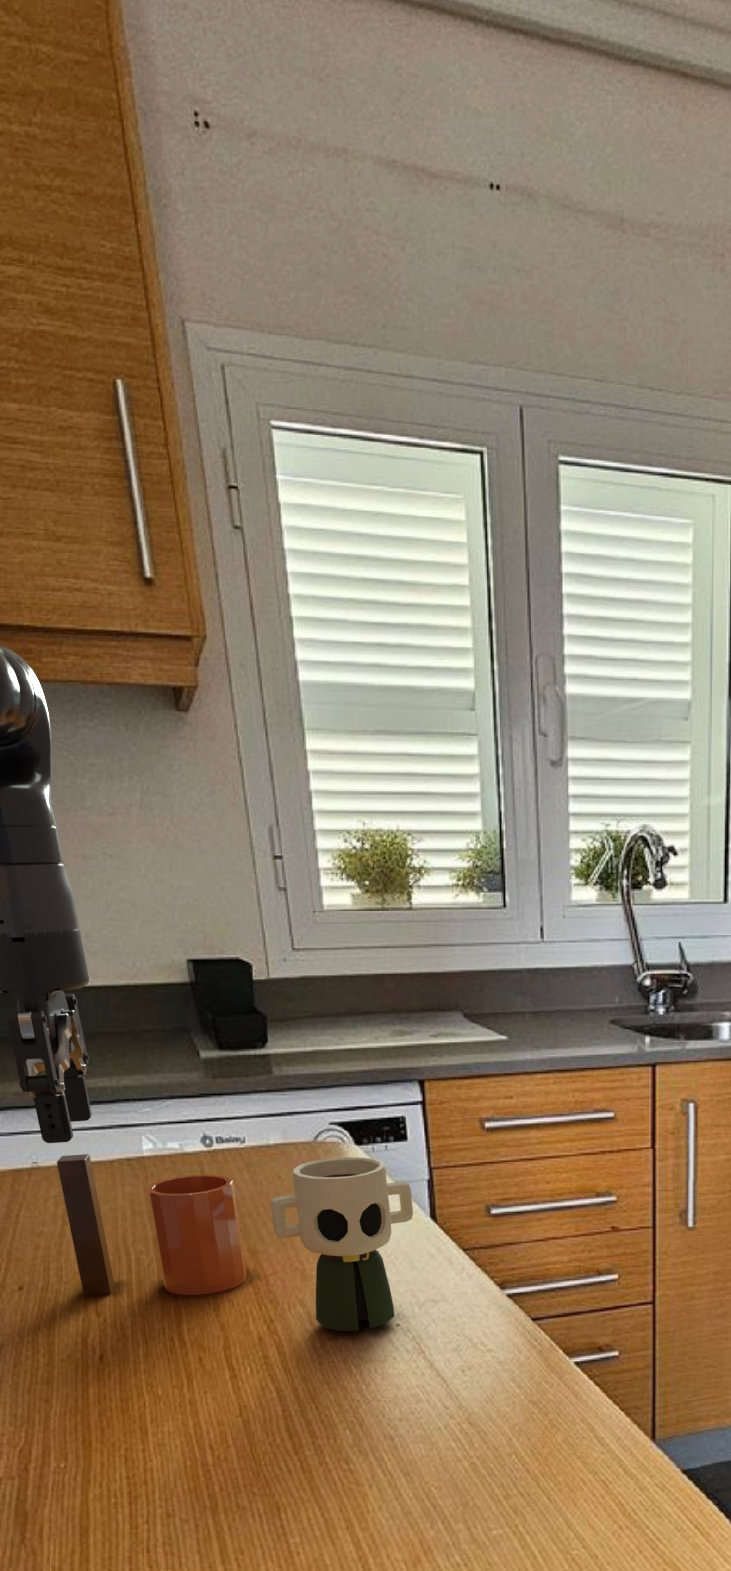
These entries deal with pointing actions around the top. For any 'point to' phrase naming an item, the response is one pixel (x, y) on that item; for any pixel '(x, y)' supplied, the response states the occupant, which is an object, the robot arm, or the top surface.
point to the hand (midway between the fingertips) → (68, 1130)
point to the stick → (86, 1224)
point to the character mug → (345, 1235)
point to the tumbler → (197, 1234)
